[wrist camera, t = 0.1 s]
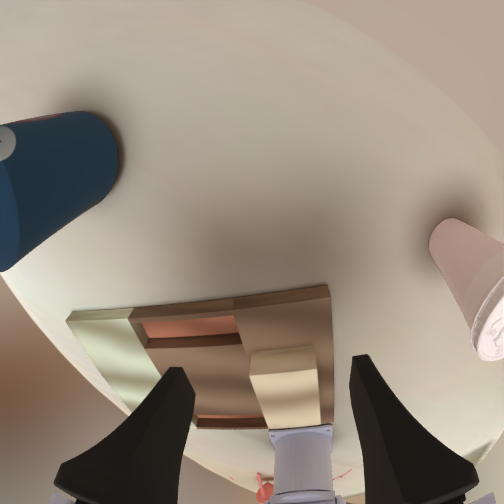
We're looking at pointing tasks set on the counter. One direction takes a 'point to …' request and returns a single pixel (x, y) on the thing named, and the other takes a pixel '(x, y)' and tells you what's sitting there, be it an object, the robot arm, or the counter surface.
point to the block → (287, 386)
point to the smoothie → (473, 281)
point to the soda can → (50, 177)
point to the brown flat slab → (209, 349)
